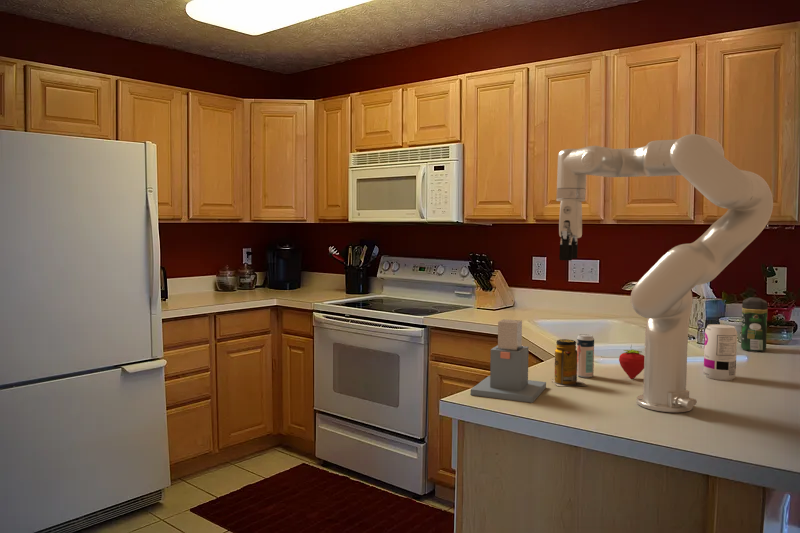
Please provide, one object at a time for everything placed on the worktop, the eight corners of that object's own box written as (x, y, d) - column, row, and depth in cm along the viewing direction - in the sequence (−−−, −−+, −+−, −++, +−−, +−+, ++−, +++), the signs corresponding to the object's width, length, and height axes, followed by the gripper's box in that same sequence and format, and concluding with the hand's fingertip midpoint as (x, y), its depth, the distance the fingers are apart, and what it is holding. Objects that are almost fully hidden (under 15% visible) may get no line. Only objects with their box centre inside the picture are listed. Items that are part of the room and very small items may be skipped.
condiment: (550, 380, 174) (551, 338, 173) (580, 380, 174) (581, 338, 173) (556, 386, 167) (557, 343, 166) (588, 386, 167) (588, 343, 166)
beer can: (580, 373, 182) (581, 333, 181) (595, 376, 179) (596, 335, 178) (573, 376, 178) (574, 335, 177) (589, 379, 175) (590, 337, 174)
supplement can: (699, 377, 177) (701, 326, 176) (708, 372, 183) (710, 322, 182) (730, 382, 172) (732, 329, 171) (738, 377, 178) (740, 326, 177)
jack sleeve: (546, 387, 166) (546, 345, 165) (532, 402, 151) (533, 356, 150) (488, 381, 172) (489, 340, 172) (470, 395, 158) (470, 350, 157)
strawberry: (644, 382, 171) (645, 347, 170) (616, 379, 175) (617, 344, 174) (648, 378, 176) (649, 343, 175) (620, 375, 180) (621, 341, 179)
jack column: (521, 384, 163) (522, 320, 162) (516, 388, 158) (517, 323, 157) (502, 381, 165) (503, 319, 164) (496, 386, 161) (497, 321, 159)
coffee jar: (740, 346, 224) (742, 295, 223) (765, 348, 220) (767, 297, 219) (740, 351, 216) (742, 298, 214) (766, 353, 212) (768, 299, 211)
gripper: (580, 194, 155) (578, 261, 157) (589, 197, 171) (586, 258, 173) (550, 194, 158) (548, 260, 160) (561, 197, 174) (559, 257, 176)
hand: (568, 259), depth 166 cm, fingers open, 9 cm apart
